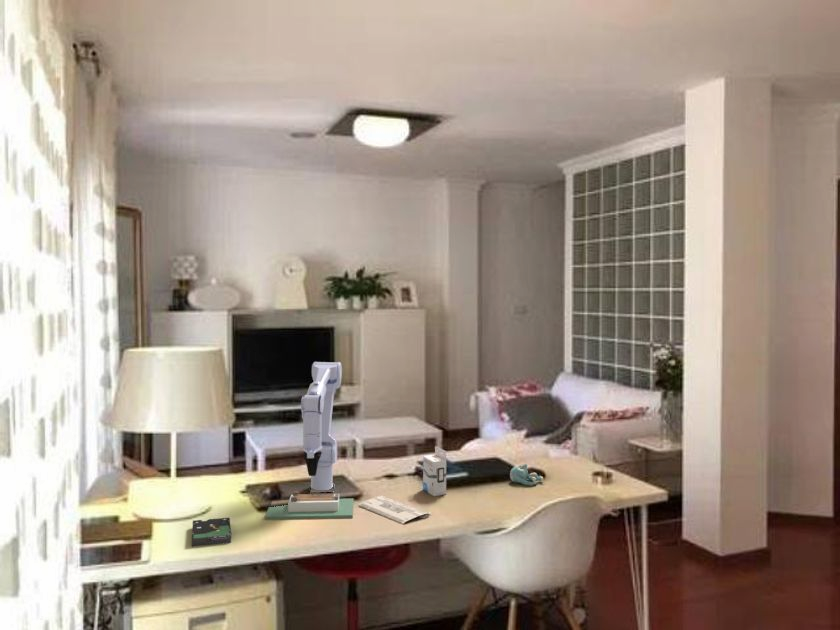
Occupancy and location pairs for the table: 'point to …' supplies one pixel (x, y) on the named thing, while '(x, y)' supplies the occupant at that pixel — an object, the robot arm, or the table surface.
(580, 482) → the table surface
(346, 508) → the board
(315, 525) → the table surface
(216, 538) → the disk drive
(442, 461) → the ink box
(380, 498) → the newspaper
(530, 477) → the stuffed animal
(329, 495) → the strip
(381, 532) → the table surface
